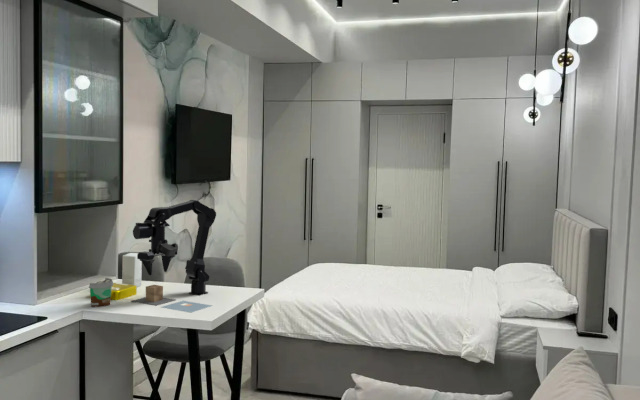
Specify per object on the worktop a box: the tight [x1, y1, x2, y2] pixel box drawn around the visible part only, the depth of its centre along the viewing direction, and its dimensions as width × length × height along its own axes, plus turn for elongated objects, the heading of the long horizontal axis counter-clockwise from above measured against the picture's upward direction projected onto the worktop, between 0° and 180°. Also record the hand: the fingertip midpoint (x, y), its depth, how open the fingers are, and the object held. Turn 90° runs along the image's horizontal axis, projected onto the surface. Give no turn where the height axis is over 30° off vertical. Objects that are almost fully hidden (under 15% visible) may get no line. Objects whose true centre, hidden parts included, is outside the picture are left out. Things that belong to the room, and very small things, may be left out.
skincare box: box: [121, 252, 143, 288], centre depth 278 cm, size 8×7×16 cm
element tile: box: [89, 282, 138, 301], centre depth 259 cm, size 15×15×5 cm
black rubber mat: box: [131, 296, 176, 307], centre depth 251 cm, size 12×14×1 cm
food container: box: [88, 277, 114, 308], centre depth 242 cm, size 12×6×10 cm, turn 168°
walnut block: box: [145, 284, 164, 302], centre depth 251 cm, size 5×5×6 cm
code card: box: [161, 300, 213, 313], centre depth 243 cm, size 14×16×1 cm
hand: (157, 273), depth 252 cm, fingers open, 9 cm apart
